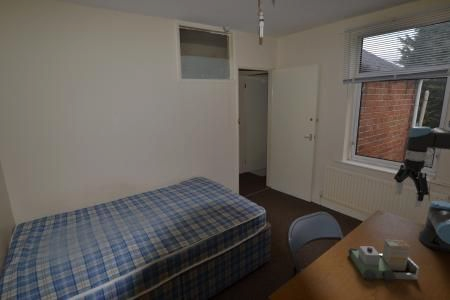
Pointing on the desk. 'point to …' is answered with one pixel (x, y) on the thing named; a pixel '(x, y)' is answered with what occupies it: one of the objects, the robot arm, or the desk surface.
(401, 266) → the supplement box
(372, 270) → the toy wooden truck
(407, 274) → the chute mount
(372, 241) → the desk surface
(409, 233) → the desk surface
